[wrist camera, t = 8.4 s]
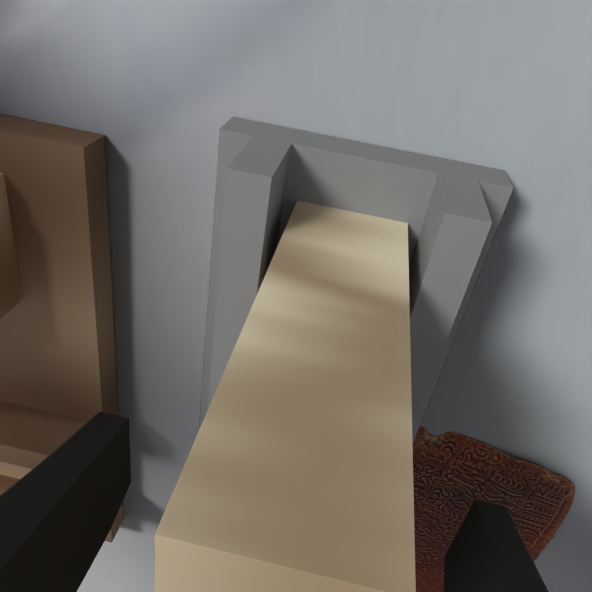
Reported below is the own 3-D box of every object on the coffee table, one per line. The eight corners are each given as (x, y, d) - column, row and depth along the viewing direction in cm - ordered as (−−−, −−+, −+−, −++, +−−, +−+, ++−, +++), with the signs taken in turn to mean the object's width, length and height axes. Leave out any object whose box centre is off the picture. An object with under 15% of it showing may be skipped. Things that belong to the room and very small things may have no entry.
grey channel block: (232, 117, 12) (186, 159, 9) (505, 171, 12) (533, 230, 9) (204, 469, 18) (172, 550, 16) (376, 511, 18) (372, 600, 16)
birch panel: (250, 491, 17) (153, 836, 10) (297, 200, 12) (154, 534, 5) (325, 509, 17) (274, 869, 10) (407, 222, 11) (416, 598, 5)
